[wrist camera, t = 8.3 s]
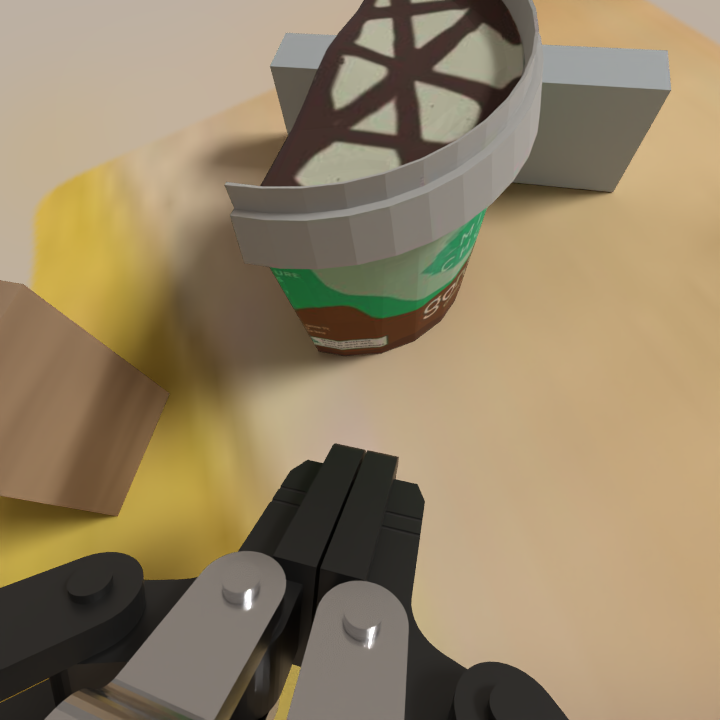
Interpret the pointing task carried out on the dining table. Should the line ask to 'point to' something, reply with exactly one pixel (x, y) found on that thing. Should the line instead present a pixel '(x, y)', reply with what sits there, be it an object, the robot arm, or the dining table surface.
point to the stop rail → (543, 107)
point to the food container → (395, 167)
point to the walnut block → (68, 409)
